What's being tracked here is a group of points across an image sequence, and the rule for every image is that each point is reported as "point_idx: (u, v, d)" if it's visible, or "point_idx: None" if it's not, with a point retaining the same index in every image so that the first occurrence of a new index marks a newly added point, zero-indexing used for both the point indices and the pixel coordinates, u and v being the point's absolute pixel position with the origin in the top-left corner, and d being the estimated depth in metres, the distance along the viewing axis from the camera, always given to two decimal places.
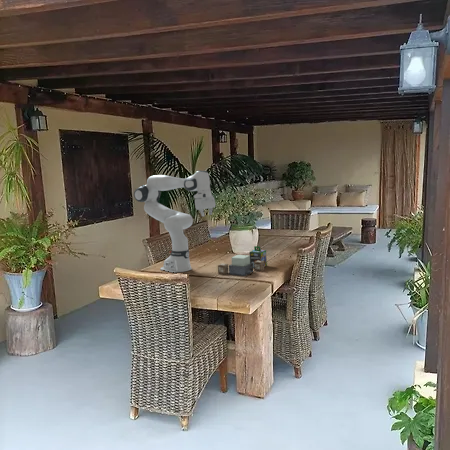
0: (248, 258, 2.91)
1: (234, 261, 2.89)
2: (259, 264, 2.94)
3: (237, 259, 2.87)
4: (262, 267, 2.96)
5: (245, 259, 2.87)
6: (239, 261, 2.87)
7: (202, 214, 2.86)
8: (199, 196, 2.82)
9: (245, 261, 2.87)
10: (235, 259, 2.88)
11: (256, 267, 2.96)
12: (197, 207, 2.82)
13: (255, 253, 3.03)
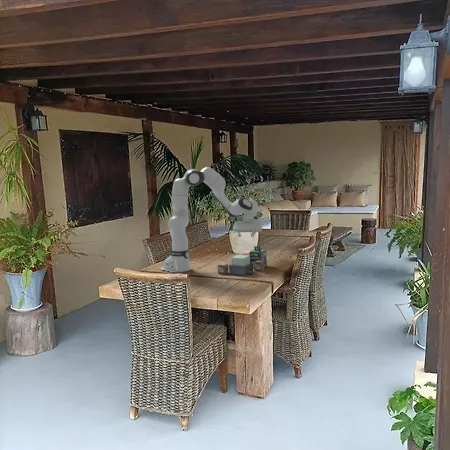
0: (248, 258, 2.91)
1: (234, 261, 2.89)
2: (259, 264, 2.94)
3: (237, 259, 2.87)
4: (262, 267, 2.96)
5: (245, 259, 2.87)
6: (239, 261, 2.87)
7: (253, 235, 2.99)
8: (261, 221, 3.05)
9: (245, 261, 2.87)
10: (235, 259, 2.88)
11: (256, 267, 2.96)
12: (261, 228, 3.00)
13: (255, 253, 3.03)
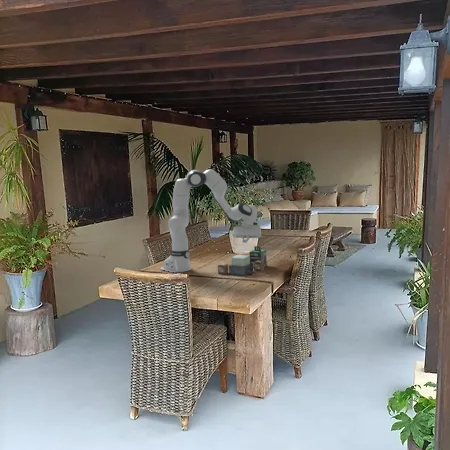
0: (248, 258, 2.91)
1: (234, 261, 2.89)
2: (259, 264, 2.94)
3: (237, 259, 2.87)
4: (262, 267, 2.96)
5: (245, 259, 2.87)
6: (239, 261, 2.87)
7: (247, 240, 2.99)
8: (260, 227, 3.04)
9: (245, 261, 2.87)
10: (235, 259, 2.88)
11: (256, 267, 2.96)
12: (260, 234, 2.99)
13: (255, 253, 3.03)
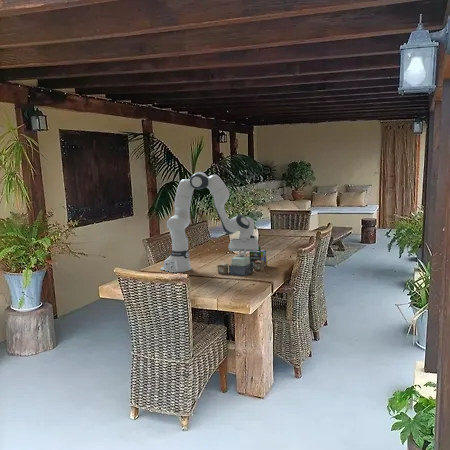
0: (248, 259, 2.91)
1: (234, 262, 2.89)
2: (259, 264, 2.94)
3: (237, 260, 2.87)
4: (262, 267, 2.96)
5: (245, 260, 2.87)
6: (239, 262, 2.87)
7: (243, 254, 2.92)
8: (257, 241, 2.97)
9: (245, 262, 2.88)
10: (235, 260, 2.88)
11: (256, 267, 2.96)
12: (257, 248, 2.92)
13: (255, 253, 3.03)
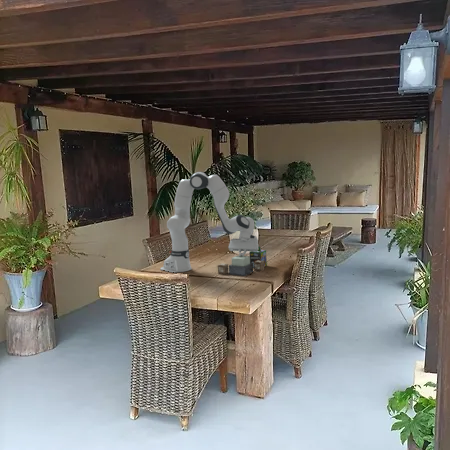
0: (248, 259, 2.91)
1: (234, 262, 2.89)
2: (259, 264, 2.94)
3: (237, 260, 2.87)
4: (262, 267, 2.96)
5: (245, 260, 2.87)
6: (239, 262, 2.87)
7: (243, 254, 2.92)
8: (257, 240, 2.97)
9: (245, 262, 2.88)
10: (235, 260, 2.88)
11: (256, 267, 2.96)
12: (257, 248, 2.92)
13: (255, 253, 3.03)
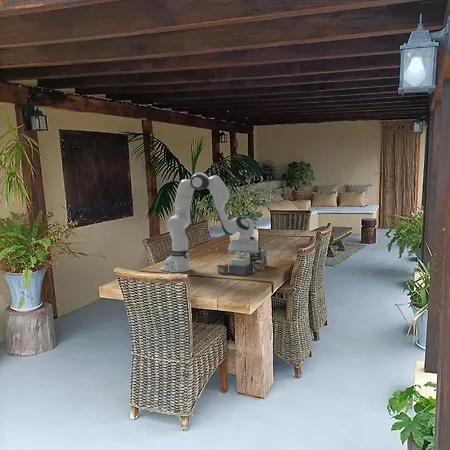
0: (248, 260, 2.91)
1: (234, 263, 2.89)
2: (259, 264, 2.94)
3: (237, 261, 2.88)
4: (262, 267, 2.96)
5: (245, 261, 2.88)
6: (239, 263, 2.87)
7: (243, 256, 2.92)
8: (257, 242, 2.97)
9: (245, 263, 2.88)
10: (235, 261, 2.88)
11: (256, 267, 2.96)
12: (257, 249, 2.91)
13: (255, 253, 3.03)
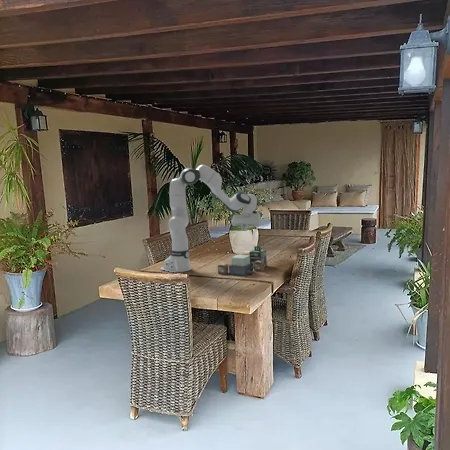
0: (248, 258, 2.91)
1: (234, 261, 2.89)
2: (259, 264, 2.94)
3: (237, 259, 2.87)
4: (262, 267, 2.96)
5: (245, 259, 2.87)
6: (239, 261, 2.87)
7: (246, 229, 3.00)
8: (259, 216, 3.05)
9: (245, 261, 2.87)
10: (235, 259, 2.88)
11: (256, 267, 2.96)
12: (259, 223, 2.99)
13: (255, 253, 3.03)
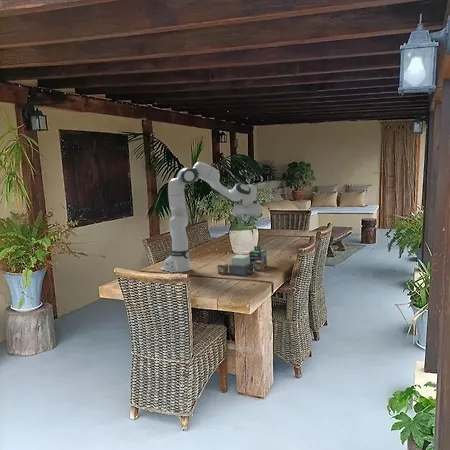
0: (248, 258, 2.91)
1: (234, 261, 2.89)
2: (259, 264, 2.94)
3: (237, 259, 2.87)
4: (262, 267, 2.96)
5: (245, 259, 2.87)
6: (239, 261, 2.87)
7: (246, 218, 3.02)
8: (260, 206, 3.07)
9: (245, 261, 2.87)
10: (235, 259, 2.88)
11: (256, 267, 2.96)
12: (260, 212, 3.02)
13: (255, 253, 3.03)
